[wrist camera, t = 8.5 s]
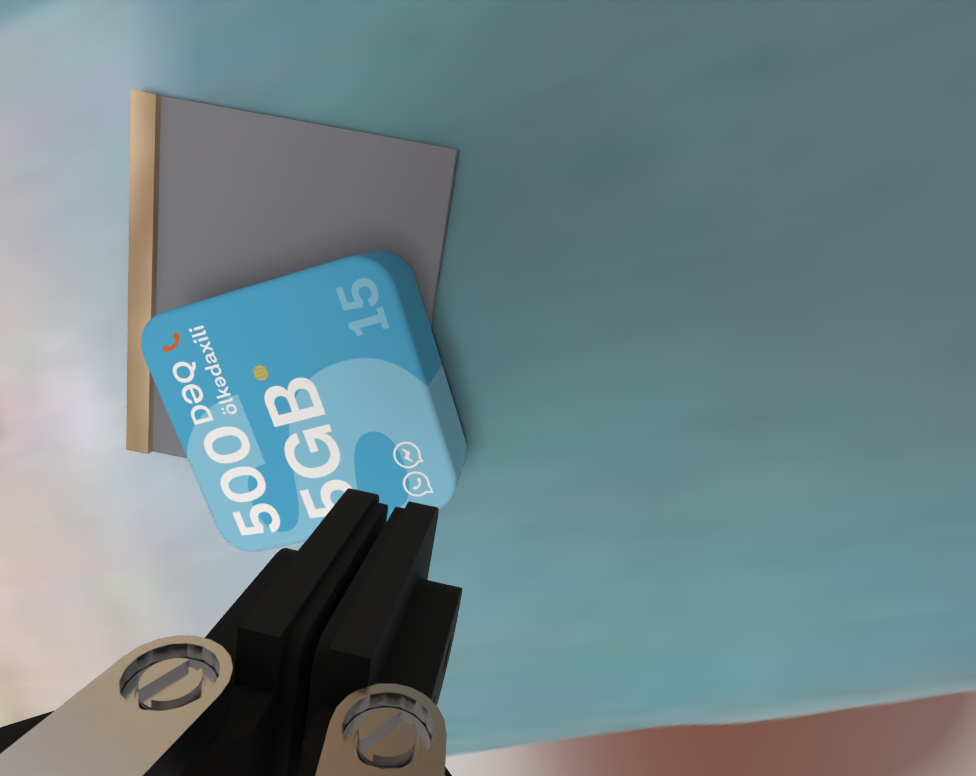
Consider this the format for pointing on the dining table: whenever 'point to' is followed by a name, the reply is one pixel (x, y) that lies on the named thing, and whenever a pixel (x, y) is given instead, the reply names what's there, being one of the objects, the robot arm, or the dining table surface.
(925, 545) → the dining table surface
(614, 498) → the dining table surface
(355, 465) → the data package
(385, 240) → the rubber mat
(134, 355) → the oak strip
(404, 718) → the robot arm
